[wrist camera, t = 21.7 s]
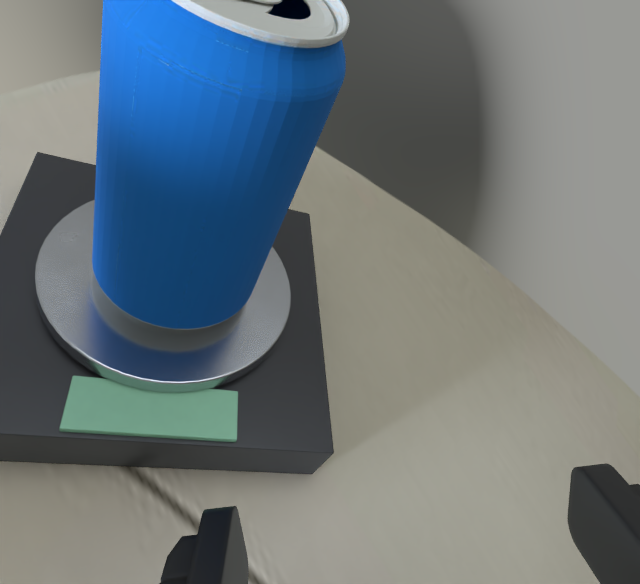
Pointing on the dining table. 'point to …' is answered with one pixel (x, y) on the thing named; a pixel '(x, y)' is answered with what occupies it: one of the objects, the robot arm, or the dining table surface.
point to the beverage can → (204, 145)
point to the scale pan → (143, 338)
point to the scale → (142, 405)
